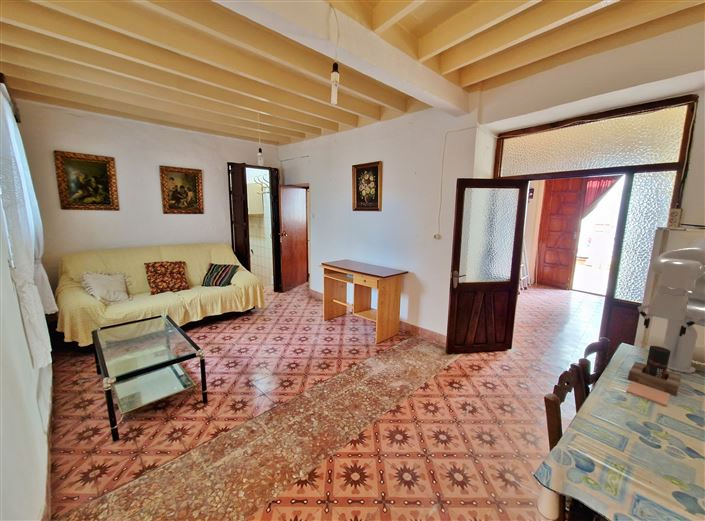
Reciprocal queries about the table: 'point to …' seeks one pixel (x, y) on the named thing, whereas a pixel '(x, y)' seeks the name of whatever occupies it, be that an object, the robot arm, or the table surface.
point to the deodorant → (657, 362)
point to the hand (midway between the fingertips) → (663, 331)
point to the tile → (648, 393)
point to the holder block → (655, 379)
